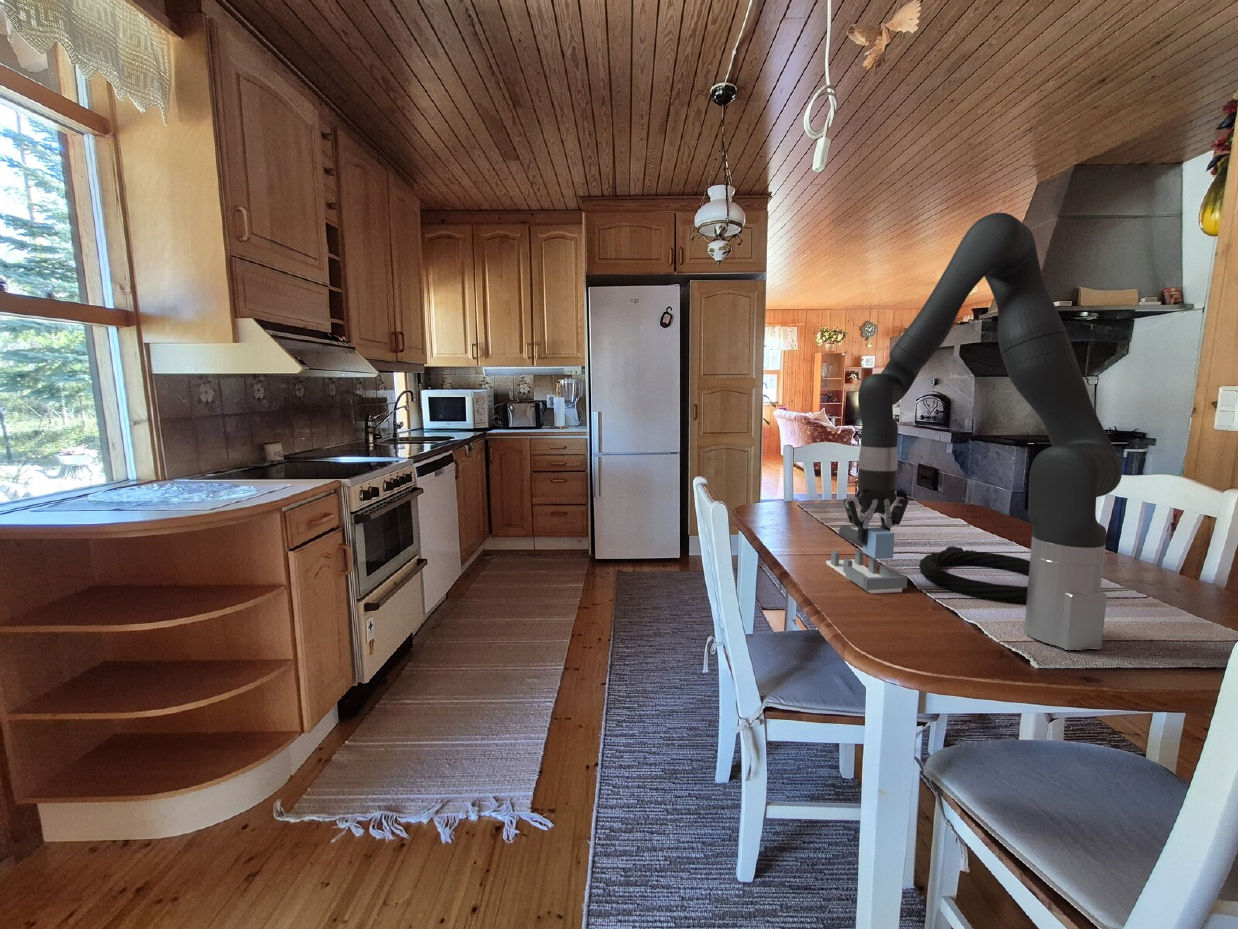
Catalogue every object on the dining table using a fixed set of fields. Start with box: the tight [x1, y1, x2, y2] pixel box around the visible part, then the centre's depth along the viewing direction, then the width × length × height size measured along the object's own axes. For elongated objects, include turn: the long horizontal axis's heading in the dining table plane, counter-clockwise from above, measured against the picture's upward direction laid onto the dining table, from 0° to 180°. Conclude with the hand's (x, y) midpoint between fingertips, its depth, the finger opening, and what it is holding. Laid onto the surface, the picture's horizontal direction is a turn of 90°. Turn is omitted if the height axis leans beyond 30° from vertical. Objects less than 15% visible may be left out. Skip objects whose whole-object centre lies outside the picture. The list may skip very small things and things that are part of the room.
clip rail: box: [825, 549, 908, 595], centre depth 119 cm, size 20×9×4 cm, turn 4°
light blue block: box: [838, 525, 895, 560], centre depth 118 cm, size 17×4×6 cm, turn 4°
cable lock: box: [918, 545, 1030, 605], centre depth 116 cm, size 28×4×30 cm
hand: (873, 543), depth 114 cm, fingers closed on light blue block, 4 cm apart
